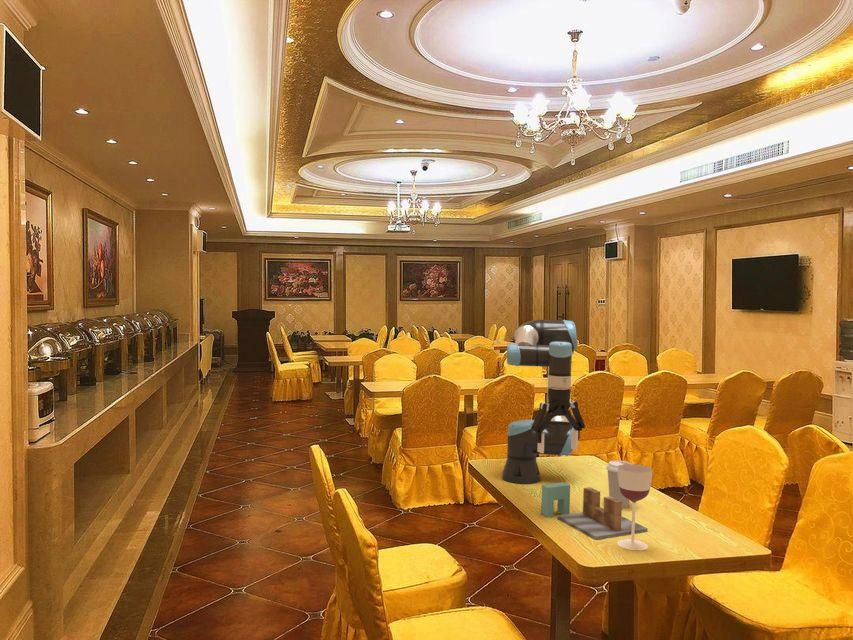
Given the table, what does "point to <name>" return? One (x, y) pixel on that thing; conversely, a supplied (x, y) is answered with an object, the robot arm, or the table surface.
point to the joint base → (600, 517)
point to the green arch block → (555, 493)
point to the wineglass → (634, 495)
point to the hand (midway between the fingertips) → (557, 450)
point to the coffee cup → (616, 482)
